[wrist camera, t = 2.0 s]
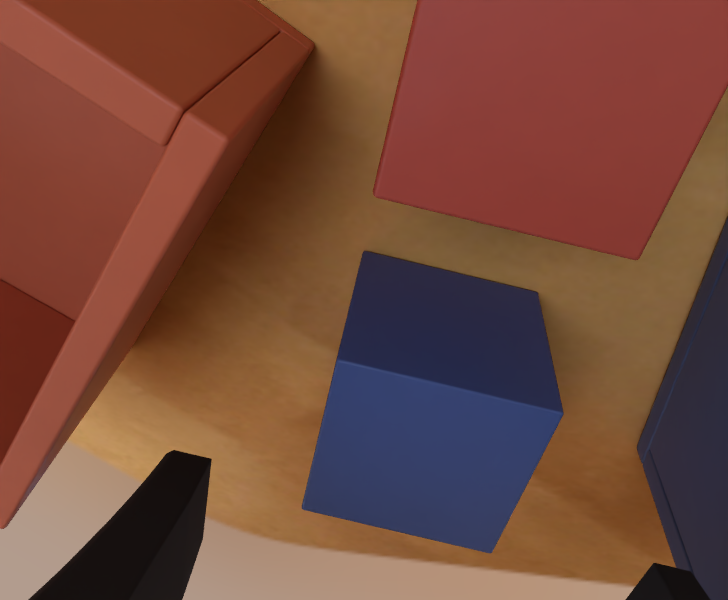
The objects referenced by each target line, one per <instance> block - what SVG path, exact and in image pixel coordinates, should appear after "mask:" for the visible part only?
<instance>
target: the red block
mask: <svg viewBox="0 0 728 600" xmlns="http://www.w3.org/2000/svg"><path fill="white" fill-rule="evenodd" d="M727 86H728V0H417V4H416V9H415V13H414V17H413V21H412V26H411V30H410V34H409V39H408V43H407V47H406V51H405V56H404V60H403V64H402V69H401V73H400V77H399V81H398V86H397V90H396V94H395V98H394V103H393V107H392V111H391V116H390V120H389V124H388V128H387V133H386V137H385V141H384V146H383V150H382V154H381V158H380V163H379V167H378V171H377V176H376V180H375V184H374V188H373V195H374V196H375V197H377V198H380V199H384V200H389V201H393V202H397V203H401V204H405V205H409V206H413V207H417V208H422V209H426V210H430V211H434V212H438V213H442V214H446V215H450V216H455V217H459V218H463V219H467V220H471V221H475V222H479V223H483V224H488V225H492V226H496V227H500V228H504V229H508V230H512V231H516V232H521V233H525V234H529V235H533V236H537V237H541V238H545V239H549V240H554V241H558V242H562V243H566V244H570V245H574V246H578V247H583V248H587V249H591V250H595V251H599V252H603V253H607V254H611V255H616V256H620V257H624V258H628V259H632V260H638V259H639V258H640V256H641V254H642V252H643V250H644V248H645V246H646V244H647V242H648V240H649V239H650V237H651V235H652V233H653V231H654V229H655V227H656V225H657V223H658V221H659V219H660V217H661V215H662V213H663V211H664V209H665V207H666V205H667V203H668V201H669V200H670V198H671V196H672V194H673V192H674V190H675V188H676V186H677V184H678V182H679V180H680V178H681V176H682V174H683V172H684V170H685V168H686V166H687V164H688V162H689V161H690V159H691V157H692V155H693V153H694V151H695V149H696V147H697V145H698V143H699V141H700V139H701V137H702V135H703V133H704V131H705V129H706V127H707V125H708V123H709V122H710V120H711V118H712V116H713V114H714V112H715V110H716V108H717V106H718V104H719V102H720V100H721V98H722V96H723V94H724V92H725V90H726V88H727Z"/></svg>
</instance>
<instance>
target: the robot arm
mask: <svg viewBox="0 0 728 600" xmlns="http://www.w3.org/2000/svg"><path fill="white" fill-rule="evenodd" d="M211 460H212V459H210V458H206V457H201V456H197V455H193V454H188V453H184V452H180V451H176V450H173V451H171V452H169V453H166V455H165V456H164V457H163V459H162V460H161V461H160V462H159V464H158V465H157V466H156V468H155V469H154V470H153V471H152V472H151V474H150V475H149V476H148V477H147V478H146V480H145V481H144V482H143V483H142V484H141V486H140V487H139V488H138V489H137V490H136V491H135V493H134V494H133V495H132V496H131V497H130V498H129V499H128V500H127V501H126V502H125V504H124V505H123V506H122V507H121V508H120V509H119V510H118V511H117V512H116V514H115V515H114V516H113V517H112V518H111V519H110V520H109V521H108V522H107V523H106V524H105V525H104V526H103V527H102V528H101V529H100V530H99V531H98V532H97V533H96V534H95V536H93V537H92V539H91V540H90V541H89V542H88V543H87V544H86V545H85V546H84V547H83V548H82V549H81V550H80V551H79V552H78V553H77V554H76V555H75V556H74V557H73V558H72V559H71V560H70V561H69V562H68V563H67V564H66V565H65V566H64V567H63V568H62V569H61V570H60V571H59V572H58V573H57V574H56V575H55V576H54V577H52V578H51V579H50V580H49V581H48V582H47V583H46V584H45V585H44V586H43V587H42V588H41V589H39V590H38V591H37V592H36V593H35V594H34V595H33V596H32V597H31V598H30V599H29V600H182V598H183V596H184V593H185V590H186V587H187V584H188V581H189V578H190V575H191V572H192V569H193V566H194V563H195V561H196V558H197V555H198V552H199V548H200V546H201V543H202V540H203V532H204V523H205V514H206V505H207V496H208V487H209V478H210V469H211ZM626 600H710V598H709V597H708V595H707V594H706V592H705V591H704V589H703V588H702V587H701V585H700V584H699V582H698V581H697V579H696V578H695V577H694V575H693V574H692V572H691V571H687V570H683V569H678V568H674V567H670V566H666V565H661V564H657V563H653V564H652V566H651V567H650V568H649V570H648V571H647V572H646V574H645V575H644V576H643V577H642V579H641V580H640V581H639V583H638V584H637V585H636V587H635V588H634V589H633V591H632V592H631V593H630V595H629V596H628V597H627V599H626Z"/></svg>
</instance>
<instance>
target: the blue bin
mask: <svg viewBox="0 0 728 600" xmlns="http://www.w3.org/2000/svg"><path fill="white" fill-rule="evenodd" d="M637 450H638V454H639V457H640V460H641V462H642V463H643V469H644V472H645V475H646V478H647V481H648V484H649V487H650V490H651V493H652V496H653V499H654V502H655V505H656V508H657V511H658V514H659V517H660V520H661V523H662V526H663V529H664V532H665V535H666V538H667V541H668V544H669V547H670V550H671V553H672V556H673V559H674V562H675V565H676V568H678V569H683V570H687V571H691V572H692V574H693V575H694V577H695V578H696V579H697V581H698V582H699V584H700V585H701V587H702V588H703V589H704V591H705V592H706V594H707V595H708V597H709V598H710V600H728V218H727V220H726V223H725V225H724V228H723V230H722V233H721V235H720V238H719V241H718V243H717V246H716V248H715V251H714V253H713V256H712V258H711V261H710V263H709V266H708V268H707V271H706V273H705V276H704V278H703V281H702V283H701V286H700V289H699V291H698V294H697V296H696V299H695V301H694V304H693V306H692V309H691V311H690V314H689V316H688V319H687V321H686V324H685V326H684V329H683V331H682V334H681V337H680V339H679V342H678V344H677V347H676V349H675V352H674V354H673V357H672V359H671V362H670V364H669V367H668V369H667V372H666V374H665V377H664V379H663V382H662V385H661V387H660V390H659V392H658V395H657V397H656V400H655V402H654V405H653V407H652V410H651V412H650V415H649V417H648V420H647V422H646V425H645V427H644V430H643V433H642V435H641V438H640V440H639V443H638V445H637Z"/></svg>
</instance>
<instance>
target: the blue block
mask: <svg viewBox="0 0 728 600" xmlns="http://www.w3.org/2000/svg"><path fill="white" fill-rule="evenodd" d="M562 416H563V408H562V404H561V399H560V394H559V389H558V385H557V380H556V375H555V371H554V366H553V361H552V357H551V352H550V347H549V343H548V338H547V333H546V329H545V324H544V319H543V315H542V310H541V305H540V301H539V296H538V293H537V292H534V291H530V290H526V289H521V288H517V287H513V286H509V285H505V284H501V283H497V282H492V281H488V280H484V279H480V278H476V277H472V276H467V275H463V274H459V273H455V272H451V271H447V270H443V269H438V268H434V267H430V266H426V265H422V264H418V263H414V262H409V261H405V260H401V259H397V258H393V257H389V256H384V255H380V254H376V253H372V252H368V251H364V252H363V254H362V258H361V262H360V266H359V270H358V274H357V278H356V282H355V286H354V290H353V295H352V299H351V303H350V307H349V311H348V315H347V319H346V323H345V327H344V331H343V335H342V339H341V344H340V348H339V352H338V356H337V360H336V364H335V368H334V373H333V377H332V381H331V385H330V389H329V394H328V398H327V402H326V406H325V411H324V415H323V419H322V423H321V427H320V432H319V436H318V440H317V444H316V449H315V453H314V457H313V461H312V465H311V470H310V474H309V478H308V482H307V486H306V491H305V495H304V499H303V503H302V509H303V510H307V511H311V512H315V513H320V514H324V515H328V516H333V517H337V518H341V519H345V520H350V521H354V522H358V523H362V524H367V525H371V526H375V527H380V528H384V529H388V530H392V531H397V532H401V533H405V534H409V535H414V536H418V537H422V538H427V539H431V540H435V541H439V542H444V543H448V544H452V545H456V546H461V547H465V548H469V549H474V550H478V551H482V552H486V553H492V551H493V550H494V548H495V546H496V544H497V542H498V540H499V538H500V536H501V534H502V532H503V530H504V528H505V526H506V524H507V522H508V521H509V519H510V517H511V515H512V513H513V511H514V509H515V507H516V505H517V503H518V501H519V499H520V497H521V495H522V493H523V492H524V490H525V488H526V486H527V484H528V482H529V480H530V478H531V476H532V474H533V472H534V470H535V468H536V466H537V464H538V463H539V461H540V459H541V457H542V455H543V453H544V451H545V449H546V447H547V445H548V443H549V441H550V439H551V437H552V435H553V434H554V432H555V430H556V428H557V426H558V424H559V422H560V420H561V418H562Z"/></svg>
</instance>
